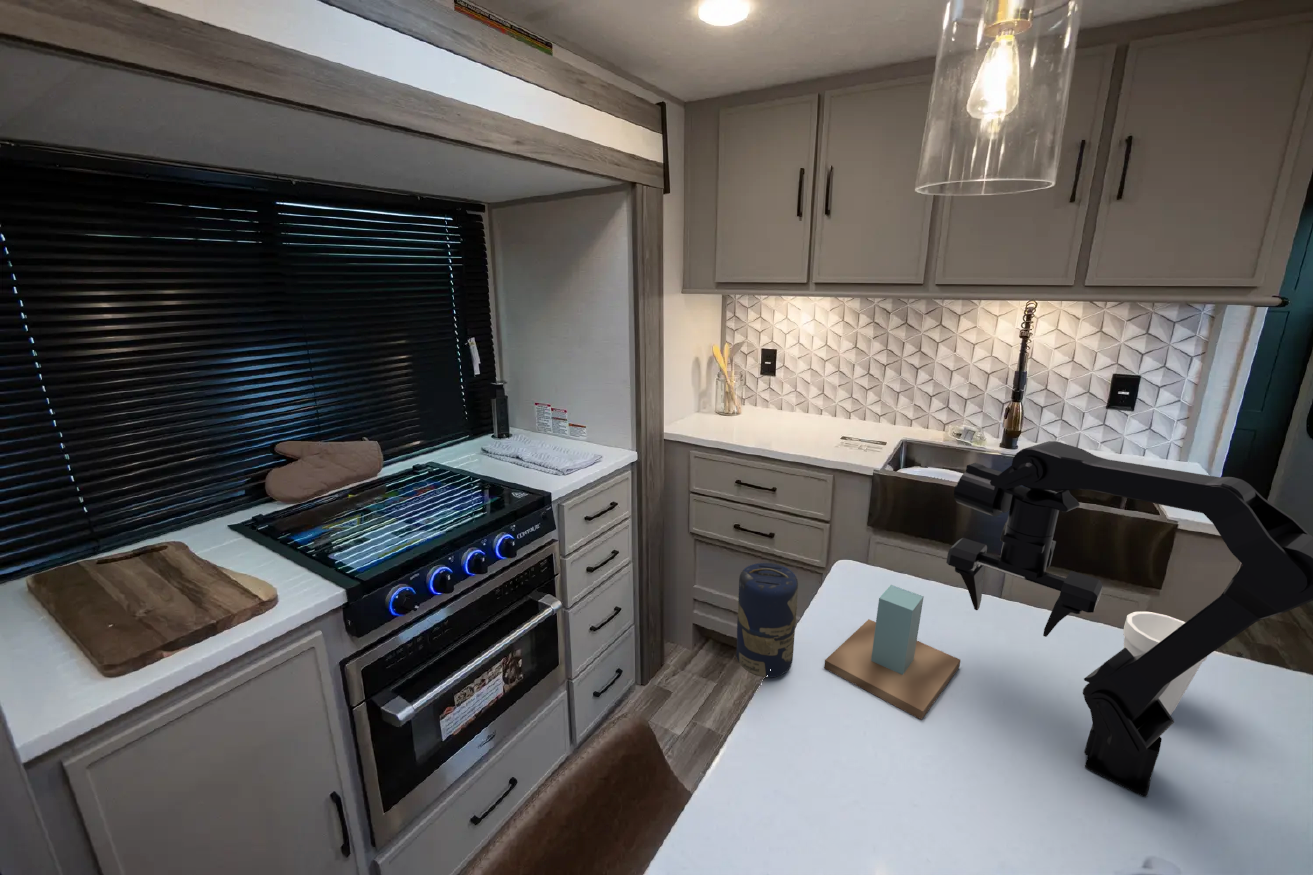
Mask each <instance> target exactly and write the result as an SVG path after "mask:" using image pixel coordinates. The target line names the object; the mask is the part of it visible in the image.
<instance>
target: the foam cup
mask: <svg viewBox="0 0 1313 875" xmlns="http://www.w3.org/2000/svg"><path fill="white" fill-rule="evenodd" d="M1185 622H1186V621H1183V620H1181V619H1178V618H1175V617H1173V616H1169V615H1166V614H1162V613H1158V612H1151V611H1133V612H1131V613H1128V614H1127V615H1126V619H1125V622H1124V627H1123V636H1124V638H1123V648H1122V649H1124V648H1127V650H1128V651H1129V652H1130V653H1131V654H1132V655H1133V656H1138V655H1141V654H1144V653H1146V652H1148V651H1149V650H1150V649H1151V648H1153V647H1154V646H1155V645H1157V644H1158V643H1159V642H1161V641H1162V640H1163V639H1165V638H1166V637H1167V636H1168V635H1170V634H1171V633H1172V632H1174V631H1175V630H1176V629H1178V628H1179V627H1180V626H1182V625H1183V624H1184V623H1185ZM1207 658H1208V656H1207V657H1205V658H1204V659H1202V660H1201V661H1199V662H1198V663H1196V664H1195V665H1194V666H1192V667H1191V668H1189V669H1188V670H1186V671H1185V672H1184V673H1182V674H1181V675H1179V676H1178V677H1176V678H1175V679H1174V680H1172V681H1171V683H1170V684H1169V686H1168V687H1167V688H1166V690H1165V691H1164V692H1163V693H1162V695H1161V696H1160V697H1159V700H1160V701H1161V703H1162V704H1163V705H1164V707H1165V708H1166V710H1167V711H1168V713H1169V714H1170V716H1171V715H1172V714H1173V713H1174V711H1175V710H1176V708H1177V706H1178V705H1179V703H1180V702H1181V700H1182V698H1183V696H1184V694H1185V693H1186V691H1187V690H1188V687H1189V686H1190V684H1191V682H1192V681H1193V679H1194V677H1195V676H1196V674H1197V672H1198V671H1199V669H1200V667H1201V666H1202V664H1203V662H1205V661H1207Z"/></svg>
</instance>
